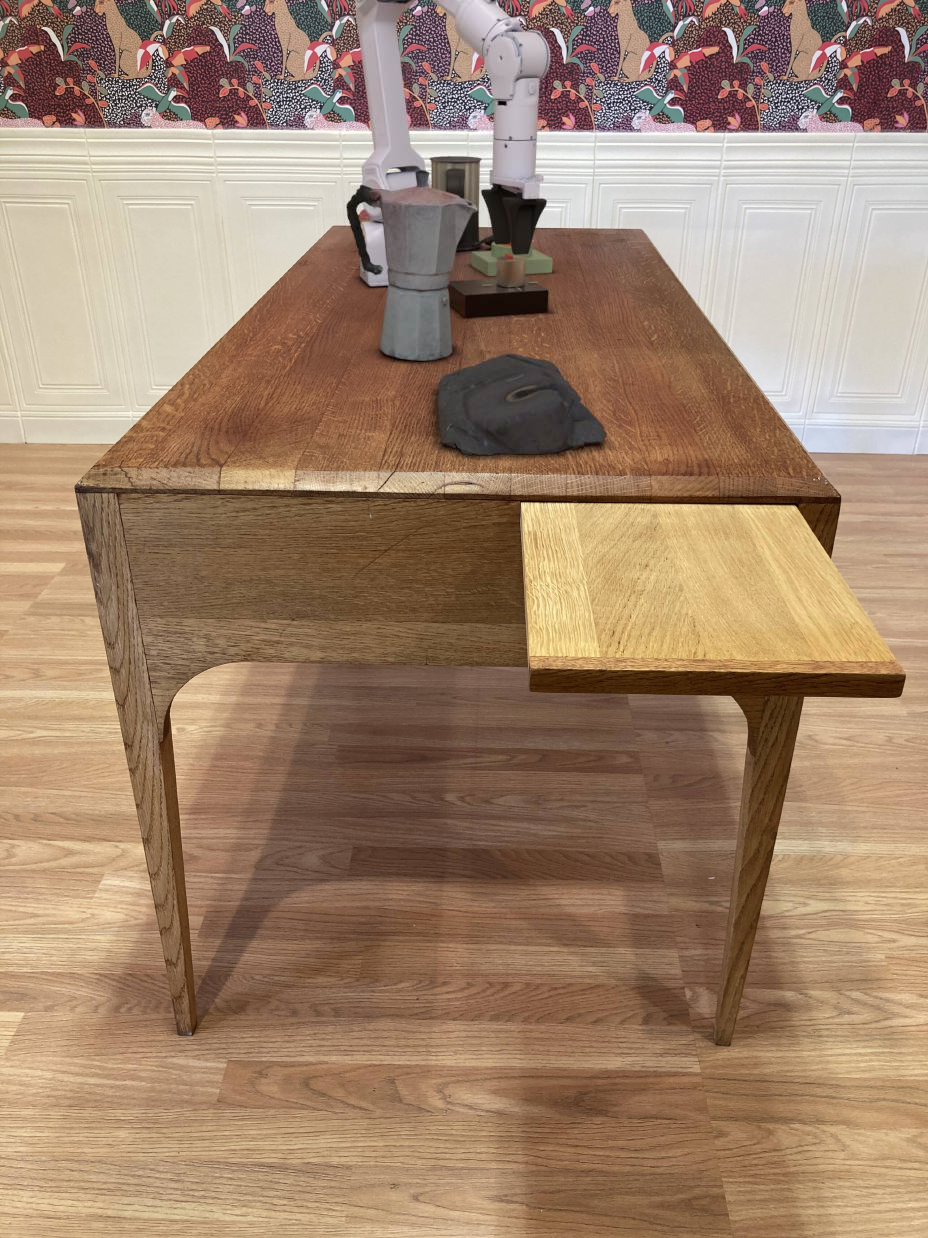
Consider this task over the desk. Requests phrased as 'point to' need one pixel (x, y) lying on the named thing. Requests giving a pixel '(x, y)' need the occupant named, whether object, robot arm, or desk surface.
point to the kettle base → (534, 259)
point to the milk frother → (461, 191)
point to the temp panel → (496, 298)
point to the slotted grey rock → (513, 409)
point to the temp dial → (510, 271)
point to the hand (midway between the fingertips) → (511, 248)
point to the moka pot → (415, 264)
